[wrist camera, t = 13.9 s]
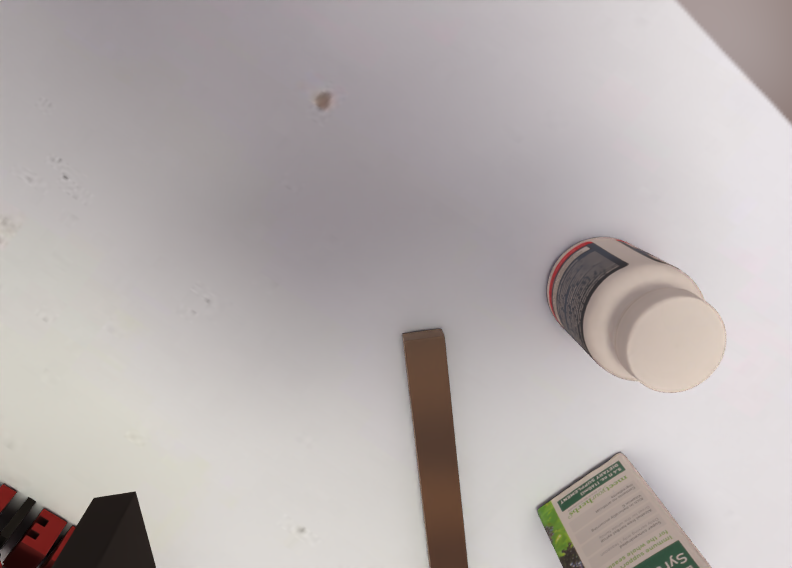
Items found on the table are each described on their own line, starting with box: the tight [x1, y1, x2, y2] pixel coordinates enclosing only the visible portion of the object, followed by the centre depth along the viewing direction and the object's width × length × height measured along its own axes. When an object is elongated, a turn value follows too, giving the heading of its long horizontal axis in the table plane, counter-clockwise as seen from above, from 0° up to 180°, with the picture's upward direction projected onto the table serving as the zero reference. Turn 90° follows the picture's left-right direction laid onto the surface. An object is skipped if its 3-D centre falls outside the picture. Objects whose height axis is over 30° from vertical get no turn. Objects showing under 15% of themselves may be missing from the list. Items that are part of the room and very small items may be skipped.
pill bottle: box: [547, 237, 726, 393], centre depth 32 cm, size 5×5×9 cm
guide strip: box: [402, 329, 468, 568], centre depth 39 cm, size 24×2×1 cm, turn 7°
